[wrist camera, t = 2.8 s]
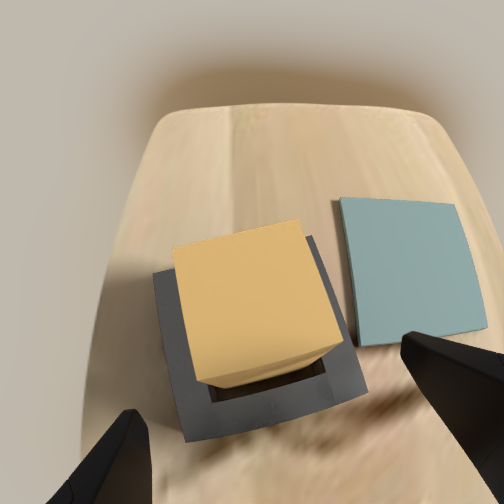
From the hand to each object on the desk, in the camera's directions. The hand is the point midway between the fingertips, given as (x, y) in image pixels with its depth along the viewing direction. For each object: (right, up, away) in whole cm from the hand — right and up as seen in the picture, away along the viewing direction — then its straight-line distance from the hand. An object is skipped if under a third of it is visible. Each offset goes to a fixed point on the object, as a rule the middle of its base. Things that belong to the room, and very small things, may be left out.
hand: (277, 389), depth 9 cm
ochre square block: (-1, -2, +11) cm, 11 cm away
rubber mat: (+12, +3, +13) cm, 18 cm away
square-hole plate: (-1, -2, +11) cm, 11 cm away
